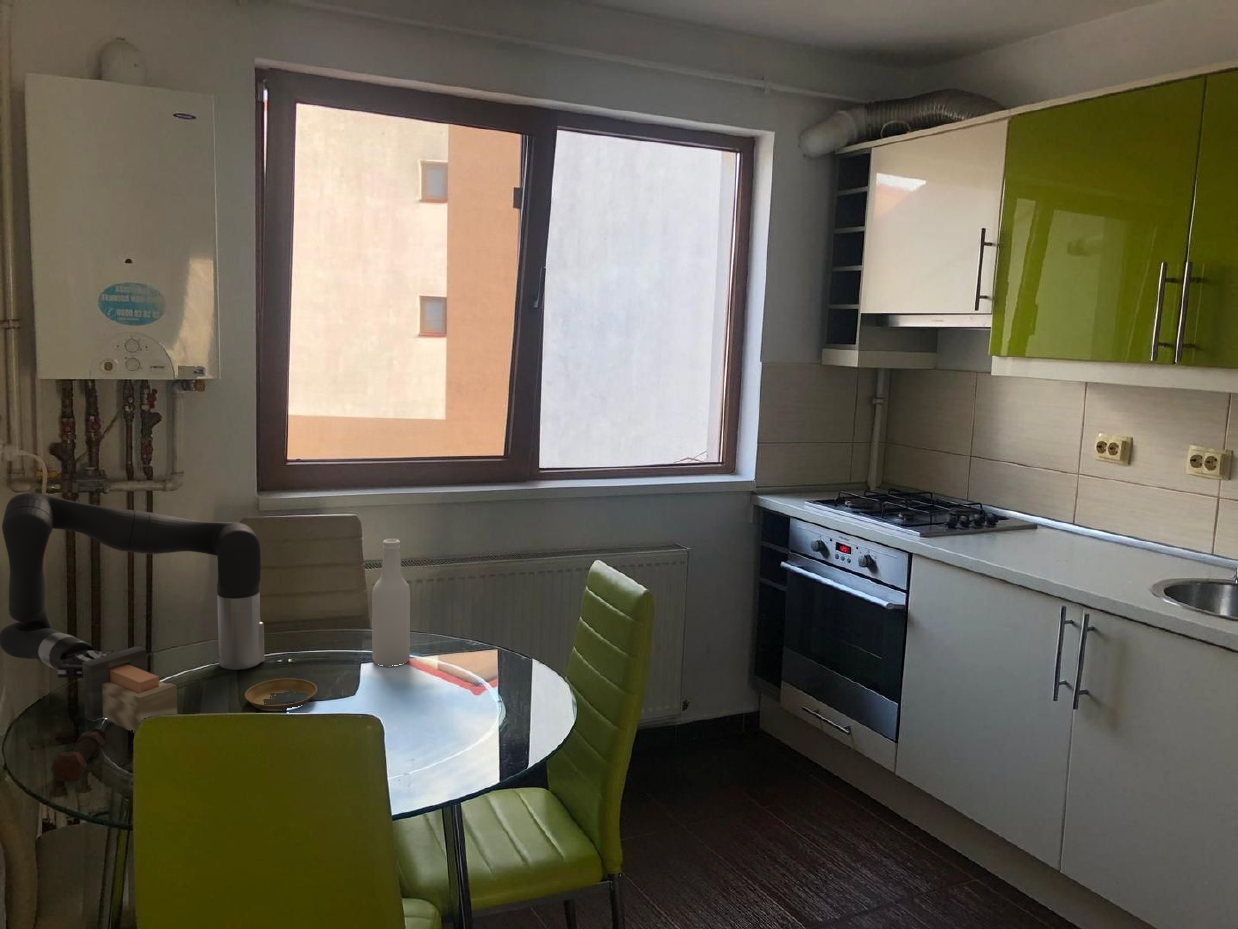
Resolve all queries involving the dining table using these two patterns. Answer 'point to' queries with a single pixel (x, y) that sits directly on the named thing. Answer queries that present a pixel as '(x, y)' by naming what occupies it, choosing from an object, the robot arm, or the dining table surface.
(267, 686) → the plant saucer
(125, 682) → the peg
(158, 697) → the frame
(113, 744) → the dining table surface
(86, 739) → the bolt
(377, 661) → the alcohol
